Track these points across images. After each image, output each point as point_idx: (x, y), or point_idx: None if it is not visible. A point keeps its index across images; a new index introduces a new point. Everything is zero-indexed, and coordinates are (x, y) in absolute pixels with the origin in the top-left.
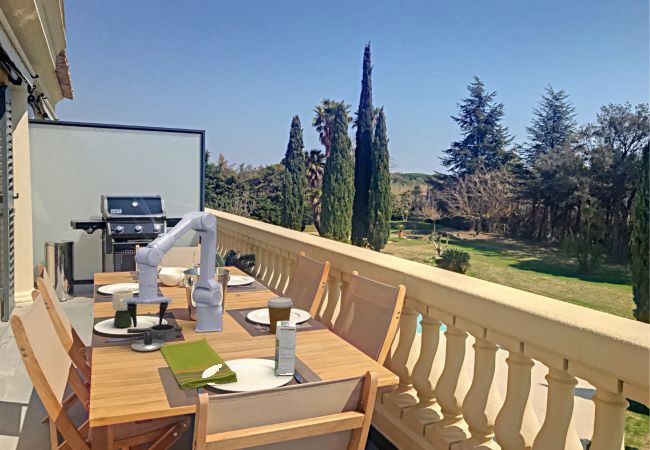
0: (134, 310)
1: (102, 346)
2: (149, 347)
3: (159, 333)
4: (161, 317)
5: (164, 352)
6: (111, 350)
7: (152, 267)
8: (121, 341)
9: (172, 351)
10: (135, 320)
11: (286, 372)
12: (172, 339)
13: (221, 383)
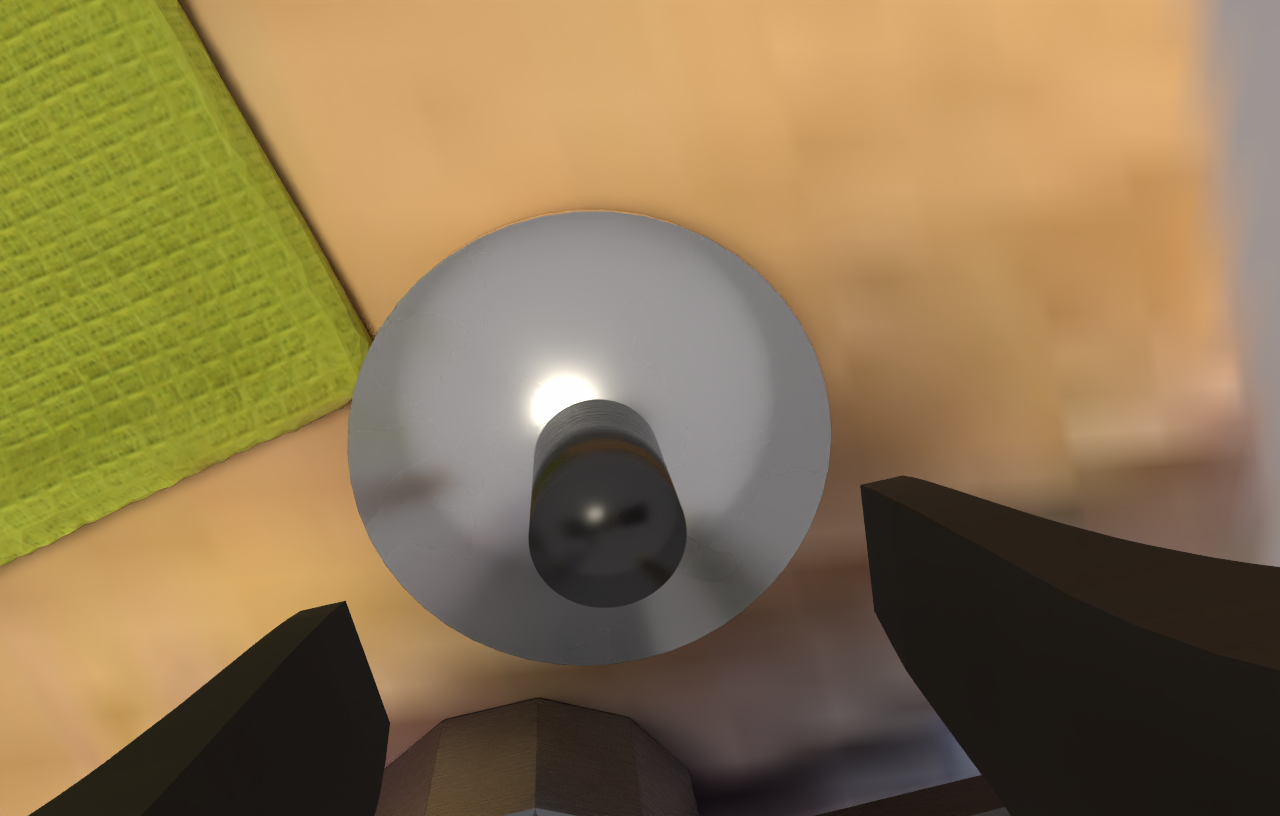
0: (1264, 658)
1: (1188, 454)
2: (508, 262)
3: (519, 784)
4: (152, 744)
5: (194, 94)
6: (1054, 302)
7: None
8: None
9: (69, 145)
10: (952, 528)
11: None
12: None
13: None
